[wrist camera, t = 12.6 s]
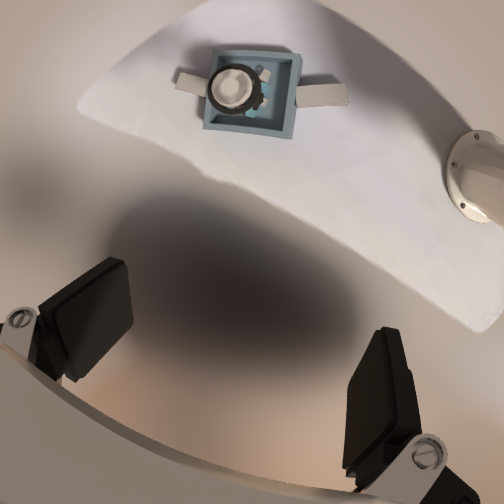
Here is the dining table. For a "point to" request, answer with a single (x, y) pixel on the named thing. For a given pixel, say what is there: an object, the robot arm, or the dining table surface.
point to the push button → (238, 89)
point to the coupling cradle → (279, 94)
